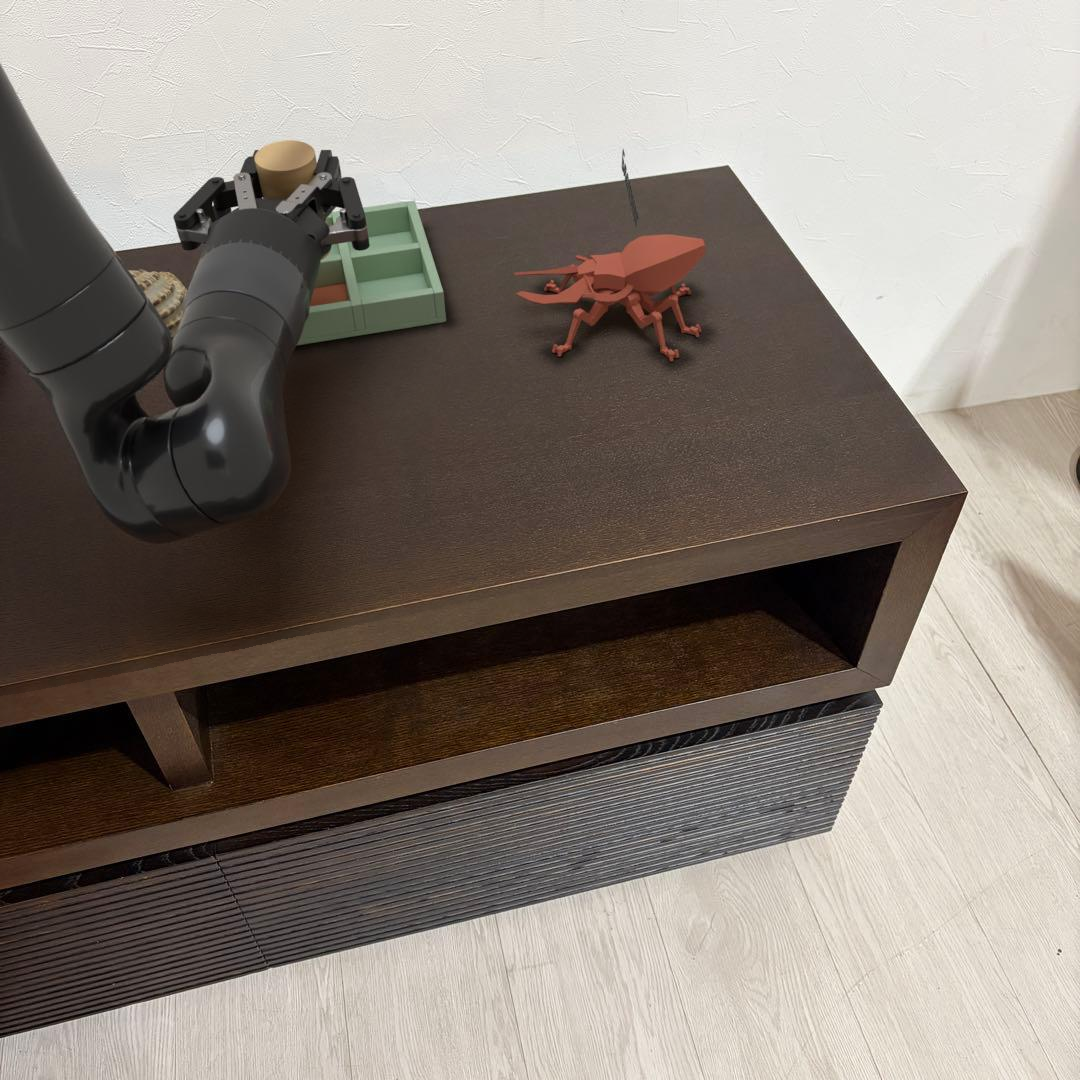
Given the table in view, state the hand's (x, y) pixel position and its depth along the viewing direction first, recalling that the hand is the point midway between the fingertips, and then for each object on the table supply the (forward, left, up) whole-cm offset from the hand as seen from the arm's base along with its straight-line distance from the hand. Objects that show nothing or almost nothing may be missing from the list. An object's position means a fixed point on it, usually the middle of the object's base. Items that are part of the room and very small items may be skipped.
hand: (295, 161), depth 83 cm
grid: (0, +3, -12) cm, 13 cm away
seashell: (-7, -13, -13) cm, 19 cm away
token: (+2, -2, -6) cm, 7 cm away
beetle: (+18, +16, -12) cm, 27 cm away
